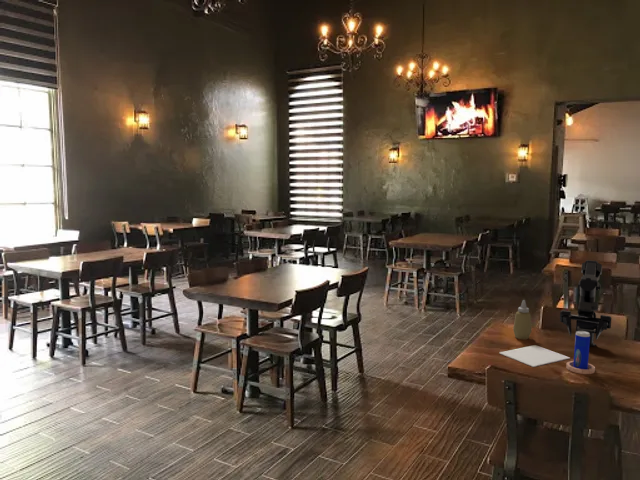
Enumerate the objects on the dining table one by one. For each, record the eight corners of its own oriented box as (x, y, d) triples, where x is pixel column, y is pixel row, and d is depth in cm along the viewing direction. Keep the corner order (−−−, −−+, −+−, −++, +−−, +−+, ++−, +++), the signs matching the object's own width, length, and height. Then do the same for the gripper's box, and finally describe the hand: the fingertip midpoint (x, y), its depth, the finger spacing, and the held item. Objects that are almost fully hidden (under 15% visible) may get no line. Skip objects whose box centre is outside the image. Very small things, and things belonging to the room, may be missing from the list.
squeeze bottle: (530, 336, 252) (532, 299, 249) (531, 341, 244) (533, 303, 242) (512, 334, 254) (514, 297, 252) (512, 339, 247) (514, 301, 244)
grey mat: (535, 345, 238) (535, 345, 238) (570, 358, 222) (570, 357, 222) (499, 353, 228) (499, 352, 227) (533, 367, 212) (533, 366, 212)
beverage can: (570, 367, 212) (573, 330, 210) (582, 366, 212) (585, 330, 211) (577, 371, 207) (580, 334, 205) (590, 371, 207) (593, 334, 205)
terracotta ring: (577, 363, 216) (577, 359, 216) (600, 371, 208) (600, 367, 207) (560, 367, 212) (561, 363, 212) (583, 375, 203) (583, 371, 203)
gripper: (561, 291, 219) (557, 323, 211) (613, 296, 210) (610, 330, 202) (562, 305, 227) (558, 337, 219) (612, 311, 218) (609, 344, 210)
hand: (583, 337), depth 212 cm, fingers open, 9 cm apart
